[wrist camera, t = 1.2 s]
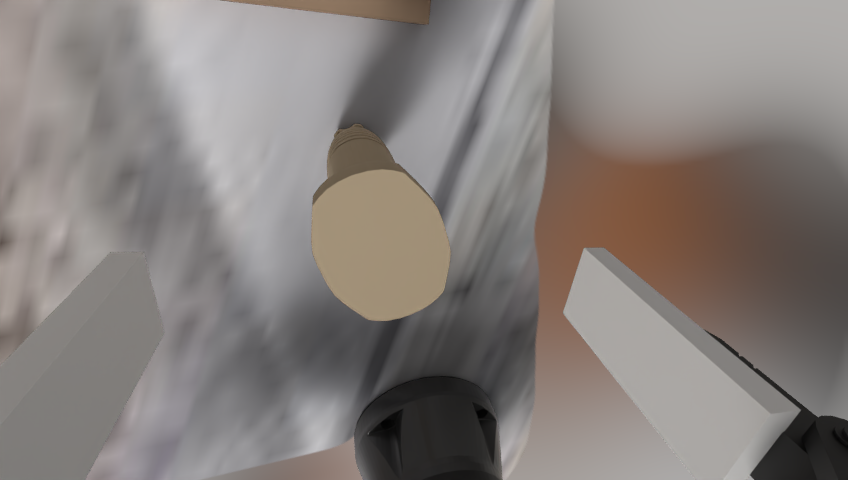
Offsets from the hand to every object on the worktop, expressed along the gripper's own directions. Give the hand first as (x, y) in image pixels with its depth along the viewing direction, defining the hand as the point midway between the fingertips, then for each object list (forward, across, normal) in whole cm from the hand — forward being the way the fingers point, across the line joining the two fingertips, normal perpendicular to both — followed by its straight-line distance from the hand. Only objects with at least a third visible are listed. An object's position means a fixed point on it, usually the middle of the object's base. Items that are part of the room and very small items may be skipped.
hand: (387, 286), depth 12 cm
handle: (+18, 0, 0) cm, 18 cm away
